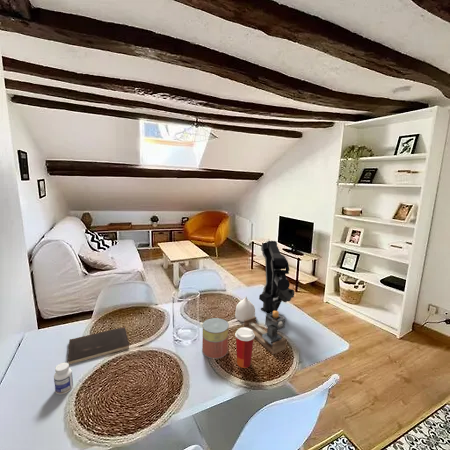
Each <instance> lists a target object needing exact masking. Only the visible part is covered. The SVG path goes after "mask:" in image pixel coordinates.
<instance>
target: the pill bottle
mask: <svg viewBox="0 0 450 450" xmlns="http://www.w3.org/2000/svg"><path fill="white" fill-rule="evenodd" d="M73 378H74V377H73V371H72V368H70V364H69V363H68V362H61V363H59V364H57V365H56V366H55V373H54V375H53V382H54V391H55V393H56V394H57V395H65V394H67V393H68V392H70V391H71V390H72V389H73V388H74V381H73Z"/></svg>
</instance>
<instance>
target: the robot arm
mask: <svg viewBox="0 0 450 450" xmlns="http://www.w3.org/2000/svg"><path fill="white" fill-rule="evenodd" d="M260 250H261V251H262V252H261V253H262V256H263V257H264V259H265V263H264V264H265V265H264V266H265V285H264V286H263V291H262V292H261V293H260V294H259V298H258V299H259V300H260V301H261V302H262V304H263V305H262V307H261V308H260V310H262V311H264V312H265V313H266V315H269V314H272V313H273V311H278V310H279V307H281V304H282V303H288V302H291V300H292V299H293V298H295V291H294V289H291V288H290V286H291V285H290V281H289V279H288V278H287V276H286V275H289V274H290V265H289V262H288V260H287V258H286V256H285V255H284V254H282V253H281V251H280V250H279V246H278V243H277V241H275V240H267V241H266V242H263V243H262V244H261V248H260Z"/></svg>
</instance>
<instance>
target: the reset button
mask: <svg viewBox="0 0 450 450" xmlns="http://www.w3.org/2000/svg"><path fill="white" fill-rule="evenodd" d="M272 313H273V317H274V319H275V320H277V318H278V317H279V315H280V311H278V310H277V311H273V312H272Z"/></svg>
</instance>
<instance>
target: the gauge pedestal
mask: <svg viewBox="0 0 450 450" xmlns="http://www.w3.org/2000/svg"><path fill="white" fill-rule="evenodd" d="M264 321H265V322H264V324H265V325H264V326H266V325H267V326H266V327H268V326H269V325H272V324H273V325H275V326H276V327H277V328H278V331H279V330H282V329H284V328H286V327H285V326H286V318H285V317H284V316H282V315H280V314H279V317H278V318H277V320H275V319H274V317H273V312H272V313H269V314H266V315H265V319H264Z"/></svg>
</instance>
